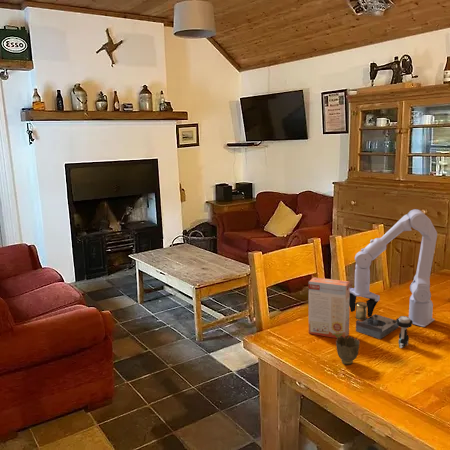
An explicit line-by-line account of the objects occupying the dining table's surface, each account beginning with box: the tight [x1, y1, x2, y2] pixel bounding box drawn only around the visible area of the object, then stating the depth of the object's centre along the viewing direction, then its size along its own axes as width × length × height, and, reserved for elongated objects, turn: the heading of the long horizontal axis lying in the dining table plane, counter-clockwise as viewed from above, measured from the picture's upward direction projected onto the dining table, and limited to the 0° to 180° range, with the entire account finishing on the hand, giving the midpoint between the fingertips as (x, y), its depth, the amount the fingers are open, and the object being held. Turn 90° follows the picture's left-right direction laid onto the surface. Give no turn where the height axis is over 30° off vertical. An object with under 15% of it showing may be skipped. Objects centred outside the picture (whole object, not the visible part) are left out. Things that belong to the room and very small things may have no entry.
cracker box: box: [308, 276, 351, 339], centre depth 168 cm, size 14×6×21 cm, turn 61°
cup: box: [335, 335, 361, 366], centre depth 148 cm, size 8×7×8 cm
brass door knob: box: [355, 301, 368, 321], centre depth 183 cm, size 5×5×6 cm
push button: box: [395, 315, 413, 349], centre depth 158 cm, size 7×5×10 cm
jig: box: [355, 313, 400, 340], centre depth 172 cm, size 14×10×4 cm
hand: (361, 313), depth 183 cm, fingers open, 7 cm apart
